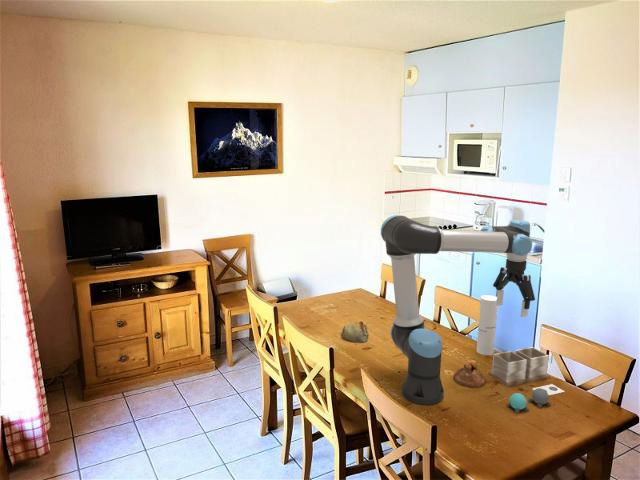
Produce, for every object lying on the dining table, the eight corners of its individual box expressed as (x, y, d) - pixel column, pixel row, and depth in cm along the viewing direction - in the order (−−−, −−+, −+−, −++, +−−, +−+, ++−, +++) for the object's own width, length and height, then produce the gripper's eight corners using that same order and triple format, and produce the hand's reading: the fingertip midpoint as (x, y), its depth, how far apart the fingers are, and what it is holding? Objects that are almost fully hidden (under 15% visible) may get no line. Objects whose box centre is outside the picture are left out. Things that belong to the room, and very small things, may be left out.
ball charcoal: (539, 408, 177) (540, 394, 176) (527, 400, 182) (529, 386, 181) (551, 405, 179) (553, 391, 178) (539, 398, 184) (541, 384, 183)
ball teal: (516, 414, 173) (518, 399, 172) (505, 406, 178) (506, 391, 177) (529, 411, 175) (530, 396, 174) (517, 403, 180) (519, 389, 179)
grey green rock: (374, 341, 233) (374, 325, 231) (349, 345, 228) (350, 328, 226) (360, 330, 245) (361, 314, 244) (337, 334, 241) (337, 318, 239)
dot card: (543, 396, 185) (544, 396, 185) (531, 389, 190) (531, 388, 190) (564, 391, 188) (564, 391, 188) (552, 384, 194) (552, 383, 194)
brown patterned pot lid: (471, 371, 204) (472, 355, 203) (491, 385, 193) (492, 367, 192) (447, 376, 200) (448, 359, 198) (465, 390, 189) (467, 372, 187)
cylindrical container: (494, 356, 218) (499, 301, 213) (477, 354, 219) (481, 299, 214) (492, 349, 225) (497, 295, 219) (475, 347, 226) (480, 294, 221)
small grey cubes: (516, 413, 173) (517, 411, 173) (506, 406, 178) (506, 403, 178) (550, 405, 179) (551, 403, 179) (539, 398, 184) (539, 395, 183)
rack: (507, 386, 192) (509, 365, 190) (488, 374, 202) (490, 353, 200) (550, 377, 199) (552, 356, 197) (529, 365, 209) (531, 345, 207)
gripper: (548, 266, 188) (542, 320, 193) (501, 251, 211) (496, 300, 215) (533, 268, 185) (527, 322, 190) (487, 253, 208) (482, 301, 212)
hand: (511, 310), depth 202 cm, fingers open, 13 cm apart
